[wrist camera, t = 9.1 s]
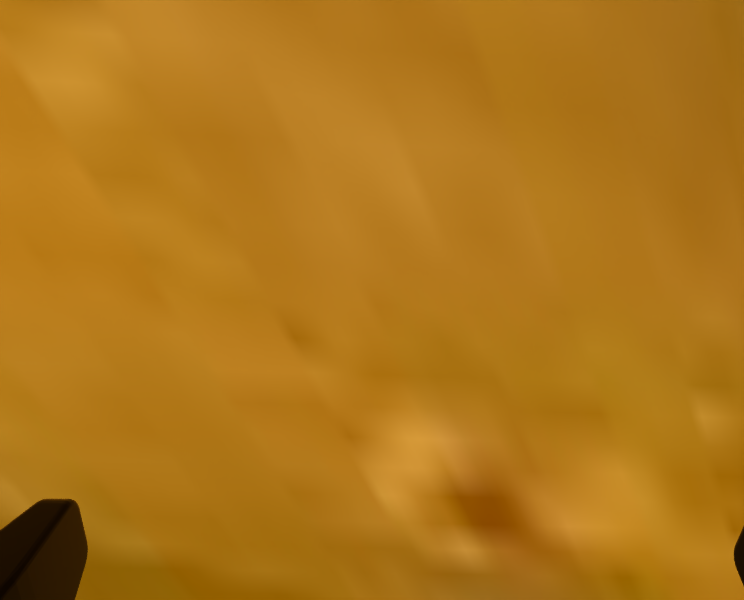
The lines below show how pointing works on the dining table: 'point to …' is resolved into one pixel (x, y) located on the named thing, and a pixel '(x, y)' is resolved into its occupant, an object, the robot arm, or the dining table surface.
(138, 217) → the dining table surface
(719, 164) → the dining table surface
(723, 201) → the dining table surface
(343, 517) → the dining table surface
